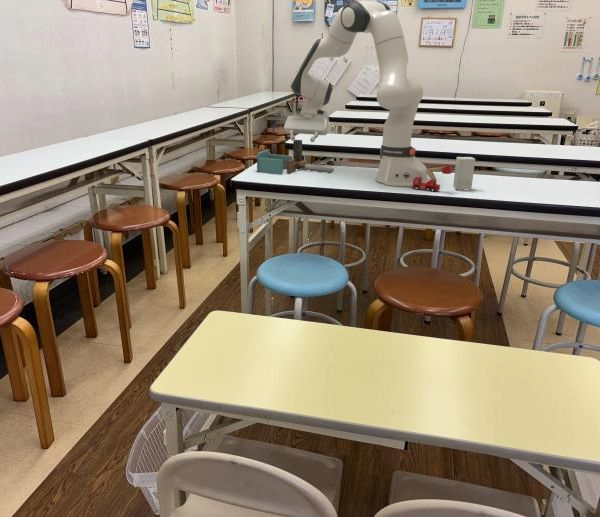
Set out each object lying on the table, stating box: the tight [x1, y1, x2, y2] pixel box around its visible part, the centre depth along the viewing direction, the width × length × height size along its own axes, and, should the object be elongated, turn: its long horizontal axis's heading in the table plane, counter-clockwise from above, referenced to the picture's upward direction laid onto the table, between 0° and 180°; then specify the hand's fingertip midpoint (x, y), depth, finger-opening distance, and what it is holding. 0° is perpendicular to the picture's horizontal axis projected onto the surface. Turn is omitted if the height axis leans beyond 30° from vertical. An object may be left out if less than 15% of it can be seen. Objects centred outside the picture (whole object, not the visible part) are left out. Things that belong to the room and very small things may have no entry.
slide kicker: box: [286, 139, 306, 174], centre depth 219 cm, size 6×13×12 cm, turn 159°
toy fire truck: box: [411, 165, 453, 192], centre depth 190 cm, size 3×14×10 cm, turn 62°
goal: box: [256, 148, 293, 175], centre depth 219 cm, size 12×11×8 cm
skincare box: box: [452, 156, 476, 190], centre depth 192 cm, size 6×4×12 cm
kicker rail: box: [295, 165, 335, 174], centre depth 222 cm, size 17×5×1 cm, turn 69°
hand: (302, 140), depth 225 cm, fingers open, 8 cm apart
